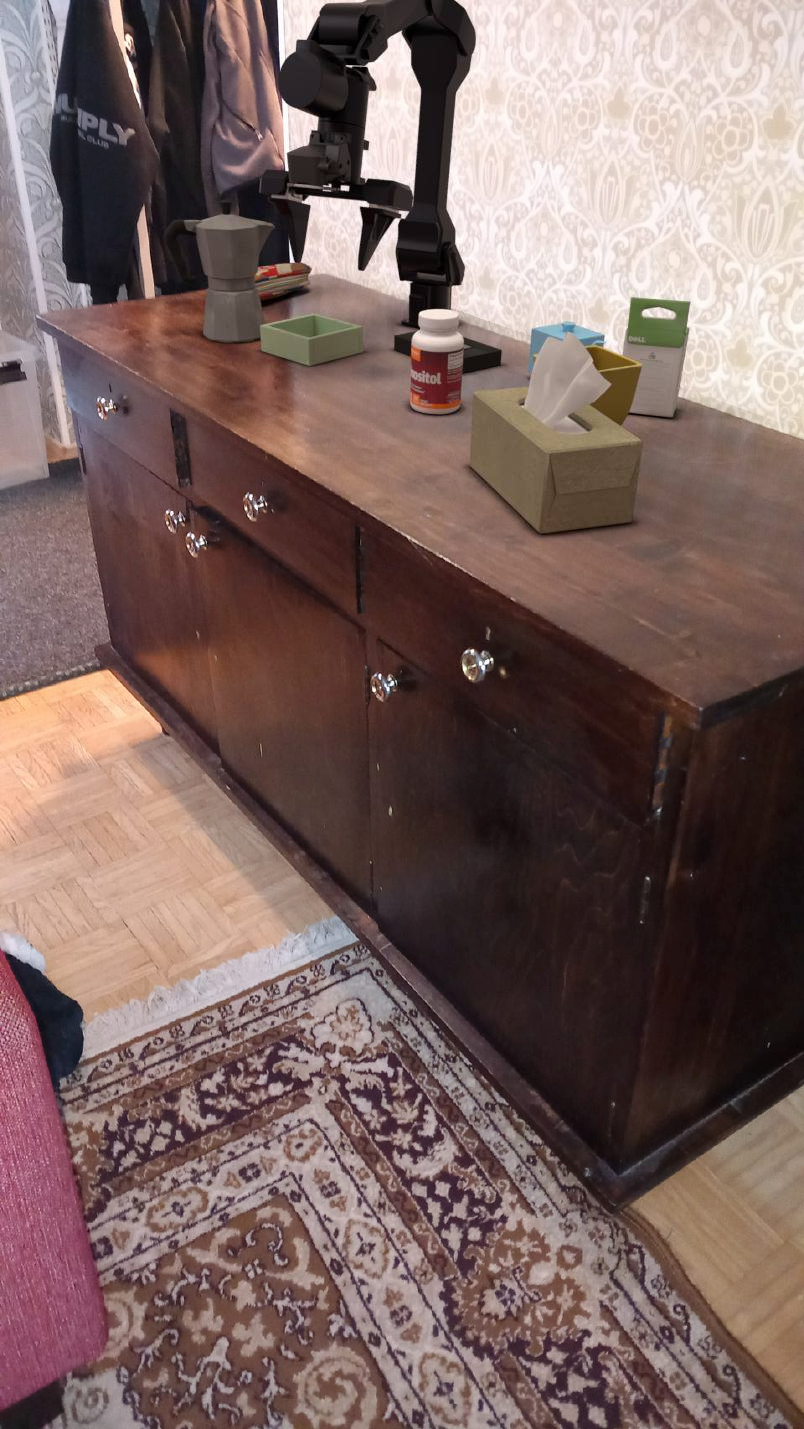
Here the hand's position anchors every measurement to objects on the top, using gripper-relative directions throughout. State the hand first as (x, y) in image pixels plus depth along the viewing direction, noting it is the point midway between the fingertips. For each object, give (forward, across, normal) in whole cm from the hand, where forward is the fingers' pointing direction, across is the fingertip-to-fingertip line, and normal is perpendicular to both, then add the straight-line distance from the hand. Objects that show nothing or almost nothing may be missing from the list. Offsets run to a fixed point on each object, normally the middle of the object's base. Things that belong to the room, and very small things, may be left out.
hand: (328, 266), depth 133 cm
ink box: (+12, +41, +9) cm, 43 cm away
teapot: (+10, +29, +14) cm, 34 cm away
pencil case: (+6, -30, +34) cm, 46 cm away
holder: (+11, -8, +11) cm, 17 cm away
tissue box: (+19, +40, -21) cm, 48 cm away
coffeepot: (+11, -23, +12) cm, 28 cm away
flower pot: (+15, +37, -4) cm, 40 cm away
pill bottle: (+14, +18, -2) cm, 23 cm away
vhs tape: (+10, +10, +18) cm, 22 cm away
